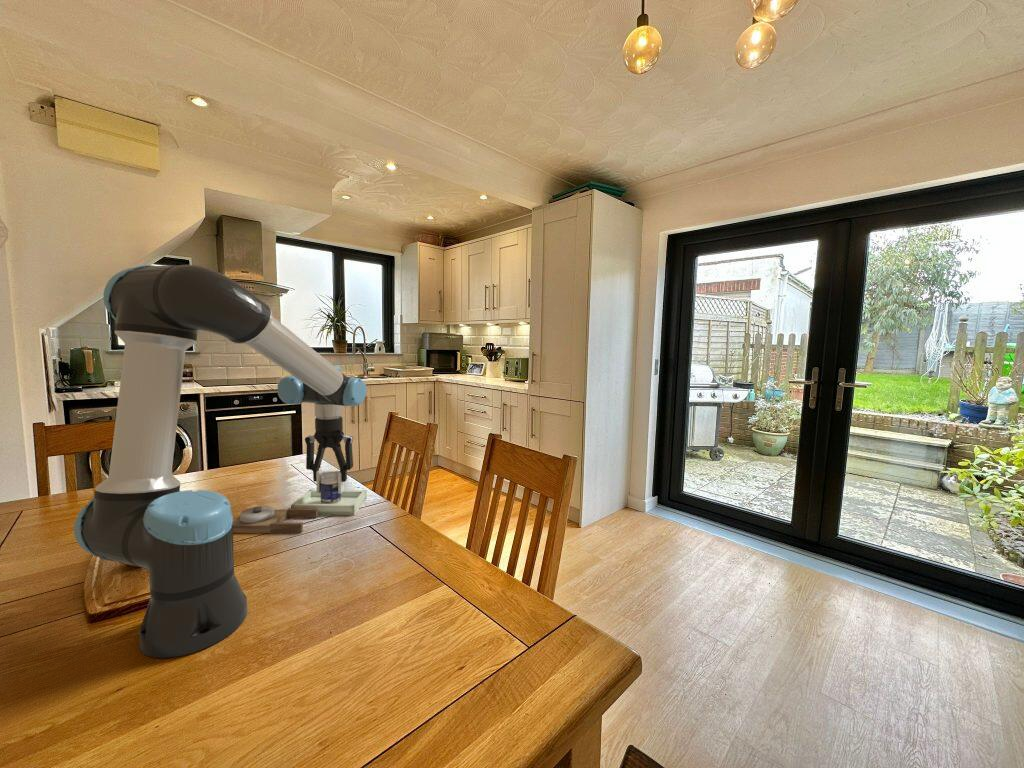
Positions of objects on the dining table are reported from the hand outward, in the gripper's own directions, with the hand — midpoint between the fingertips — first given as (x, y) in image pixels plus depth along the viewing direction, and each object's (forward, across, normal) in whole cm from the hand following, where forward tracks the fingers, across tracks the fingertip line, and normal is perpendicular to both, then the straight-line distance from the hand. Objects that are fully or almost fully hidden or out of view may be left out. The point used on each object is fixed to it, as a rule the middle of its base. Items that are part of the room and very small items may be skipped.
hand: (330, 491), depth 124 cm
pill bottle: (+4, 0, 0) cm, 4 cm away
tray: (+5, 0, 0) cm, 5 cm away
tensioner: (+5, +11, +12) cm, 17 cm away
